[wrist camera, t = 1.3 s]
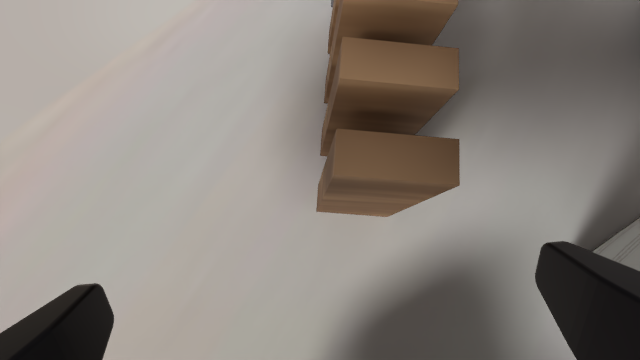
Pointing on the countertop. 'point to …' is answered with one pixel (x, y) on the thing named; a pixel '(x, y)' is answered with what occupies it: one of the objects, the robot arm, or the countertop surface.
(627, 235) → the skincare box
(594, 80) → the countertop surface
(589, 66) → the countertop surface
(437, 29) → the domino
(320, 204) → the domino
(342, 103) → the domino
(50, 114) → the countertop surface
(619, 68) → the countertop surface
